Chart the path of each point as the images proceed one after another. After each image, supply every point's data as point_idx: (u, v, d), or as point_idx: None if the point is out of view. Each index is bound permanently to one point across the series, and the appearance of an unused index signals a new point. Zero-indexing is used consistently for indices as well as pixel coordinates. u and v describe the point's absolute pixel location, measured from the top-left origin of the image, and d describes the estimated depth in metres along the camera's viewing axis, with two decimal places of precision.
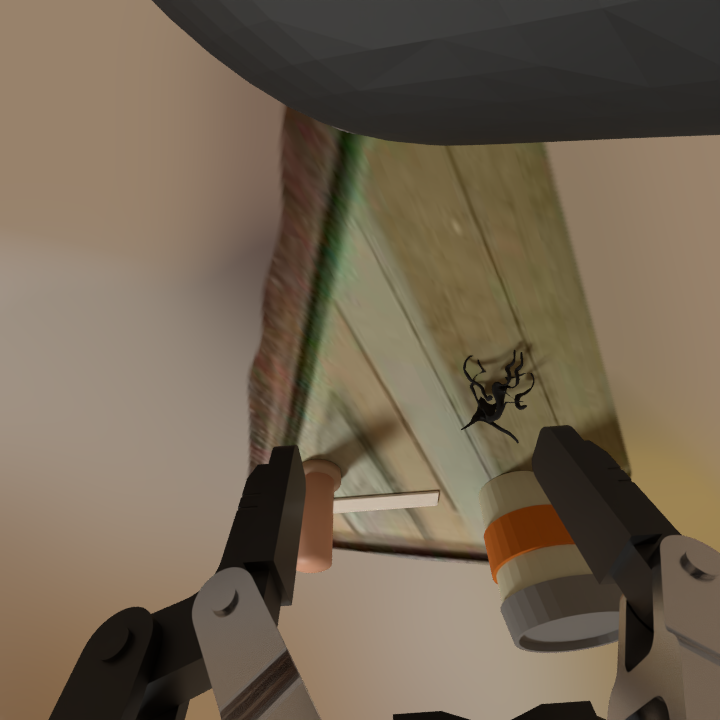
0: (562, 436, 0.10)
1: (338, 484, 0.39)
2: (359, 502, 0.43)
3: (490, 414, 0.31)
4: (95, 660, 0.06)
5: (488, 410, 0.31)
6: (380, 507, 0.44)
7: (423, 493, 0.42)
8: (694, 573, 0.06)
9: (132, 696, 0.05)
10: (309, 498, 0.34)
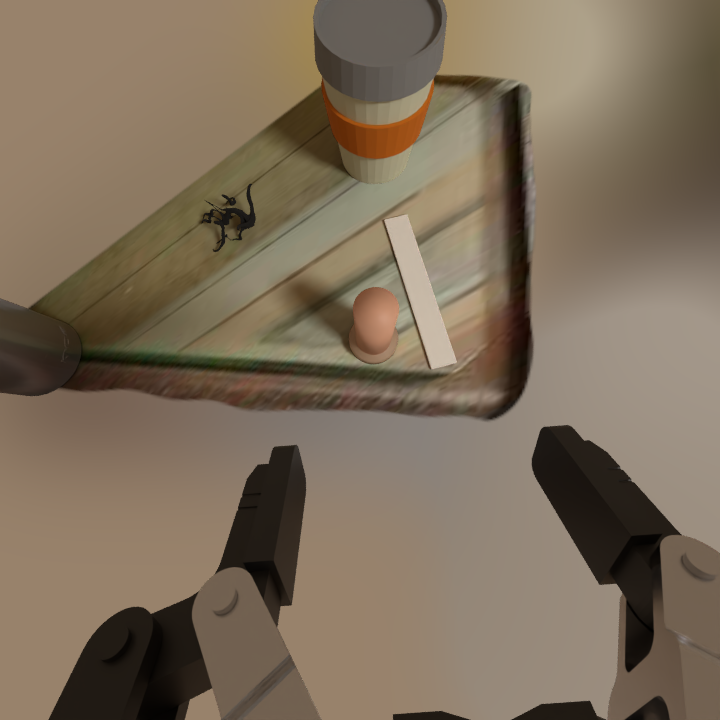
0: (562, 436, 0.10)
1: None
2: (414, 291, 0.39)
3: None
4: (95, 660, 0.06)
5: None
6: (421, 268, 0.39)
7: (388, 233, 0.41)
8: (694, 573, 0.06)
9: (132, 696, 0.05)
10: (356, 336, 0.33)
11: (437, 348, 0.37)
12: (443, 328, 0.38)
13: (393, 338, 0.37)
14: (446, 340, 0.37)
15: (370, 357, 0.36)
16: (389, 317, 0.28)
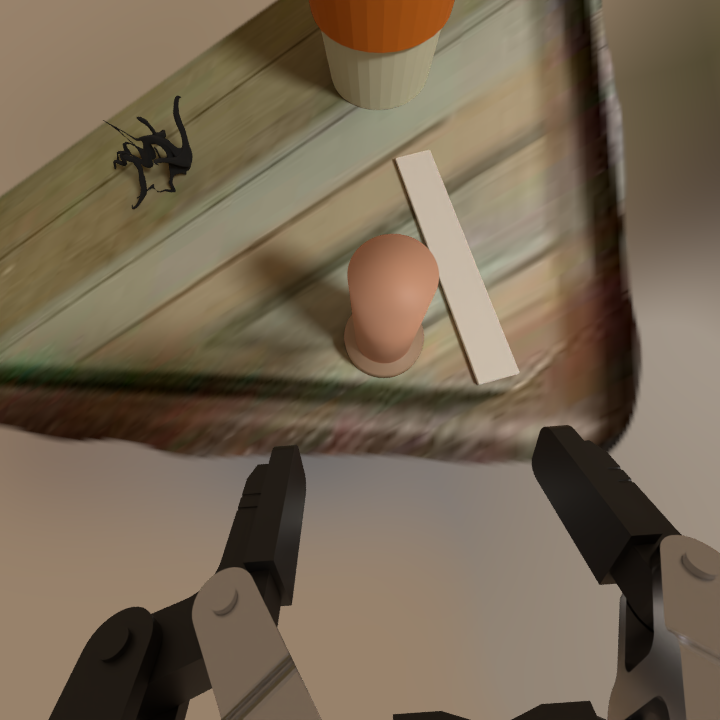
0: (562, 436, 0.10)
1: None
2: (445, 262, 0.25)
3: None
4: (95, 660, 0.06)
5: None
6: (454, 227, 0.26)
7: (402, 177, 0.27)
8: (694, 573, 0.06)
9: (132, 696, 0.05)
10: (356, 333, 0.19)
11: (487, 350, 0.23)
12: (494, 319, 0.24)
13: (416, 336, 0.23)
14: (500, 337, 0.23)
15: (379, 367, 0.22)
16: (420, 291, 0.14)
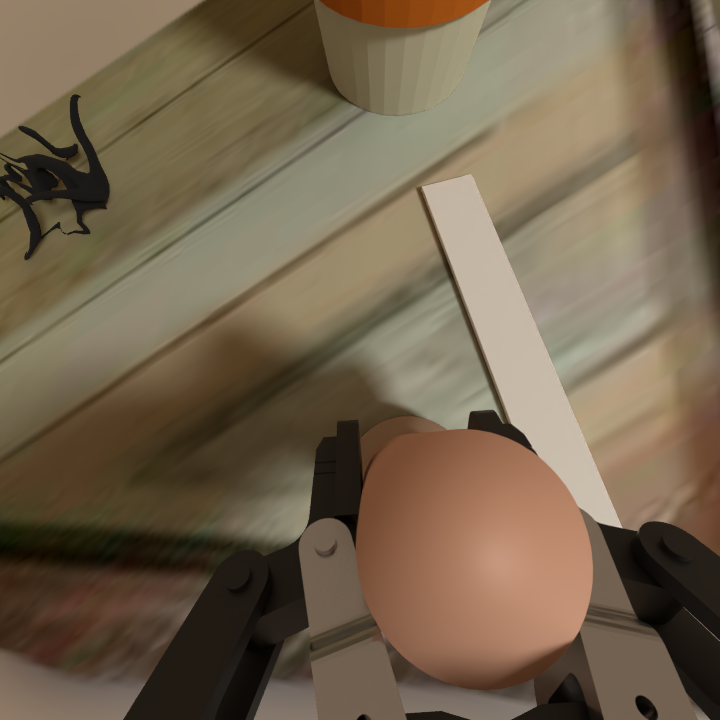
0: (483, 419, 0.10)
1: (410, 422, 0.15)
2: (501, 350, 0.16)
3: None
4: (222, 585, 0.07)
5: None
6: (512, 294, 0.17)
7: (432, 215, 0.18)
8: None
9: (244, 632, 0.06)
10: None
11: None
12: (582, 446, 0.15)
13: None
14: (592, 478, 0.15)
15: None
16: (547, 604, 0.05)
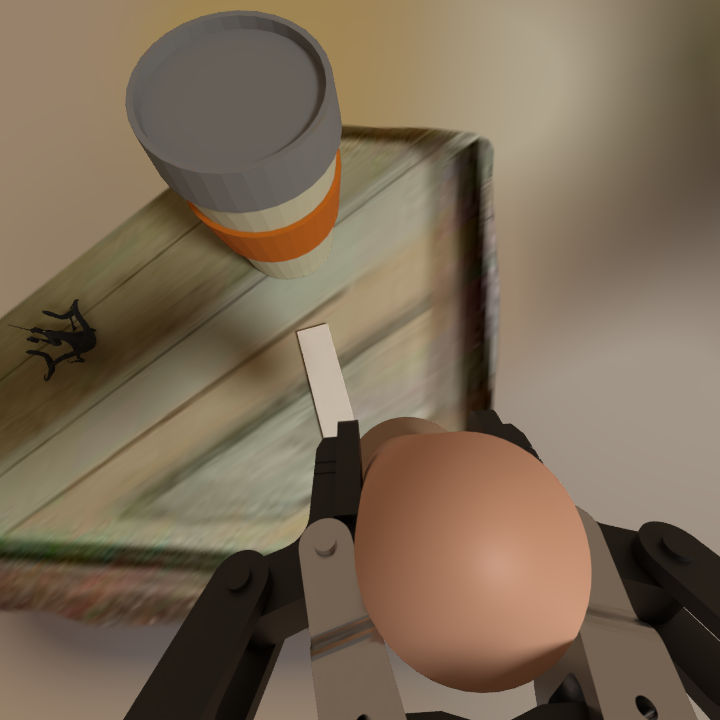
0: (484, 419, 0.10)
1: (409, 422, 0.15)
2: None
3: None
4: (222, 585, 0.07)
5: None
6: (343, 403, 0.29)
7: (302, 351, 0.30)
8: None
9: (244, 632, 0.06)
10: None
11: None
12: None
13: None
14: None
15: None
16: (546, 607, 0.05)
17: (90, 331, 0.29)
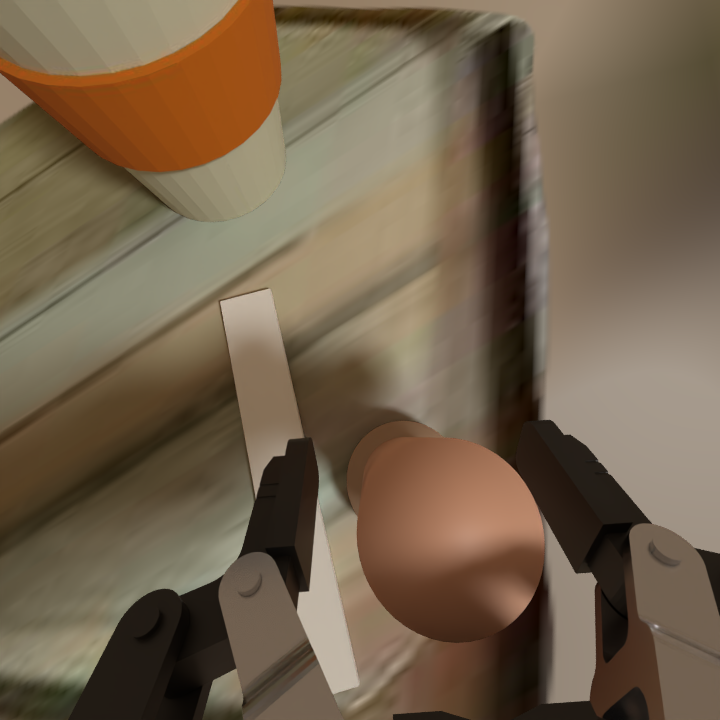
0: (543, 430, 0.10)
1: (405, 426, 0.16)
2: None
3: None
4: (128, 637, 0.06)
5: None
6: (289, 419, 0.17)
7: (227, 332, 0.19)
8: (659, 559, 0.06)
9: (160, 675, 0.06)
10: None
11: (312, 641, 0.15)
12: (331, 582, 0.15)
13: None
14: (335, 617, 0.15)
15: None
16: (508, 577, 0.07)
17: None
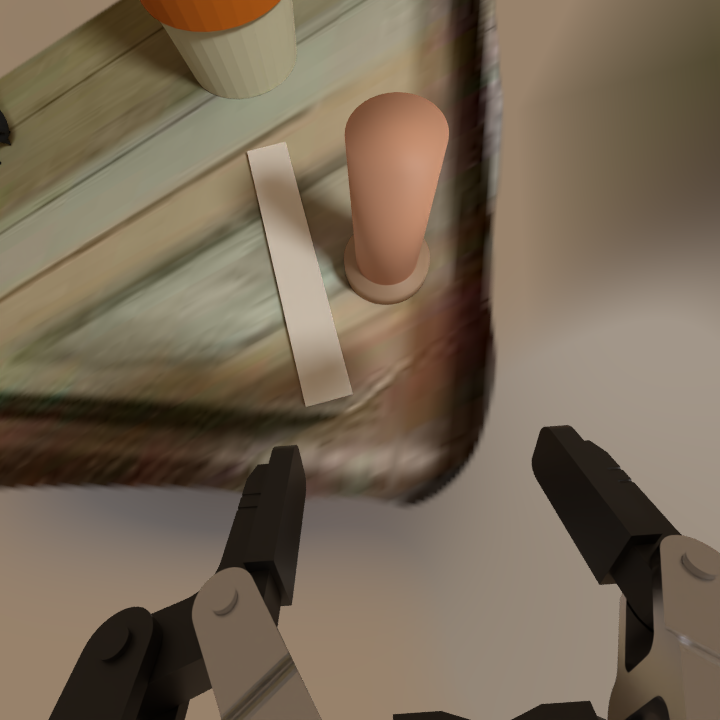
0: (562, 436, 0.10)
1: None
2: (286, 267, 0.22)
3: None
4: (95, 660, 0.06)
5: None
6: (301, 228, 0.23)
7: None
8: (694, 573, 0.06)
9: (132, 696, 0.05)
10: (356, 239, 0.18)
11: (319, 367, 0.20)
12: (332, 331, 0.21)
13: (421, 257, 0.21)
14: (335, 352, 0.21)
15: (382, 289, 0.20)
16: (427, 148, 0.12)
17: None
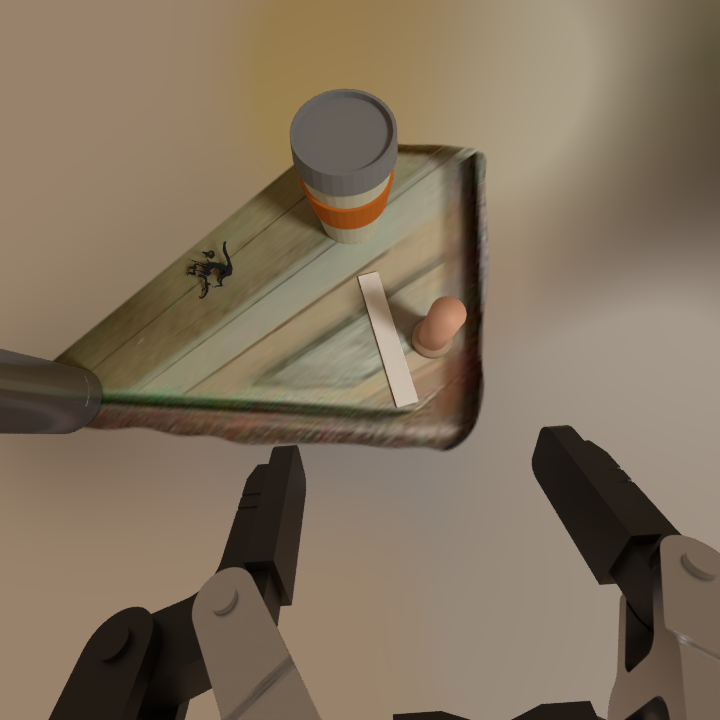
0: (562, 436, 0.10)
1: None
2: (383, 339, 0.46)
3: None
4: (95, 660, 0.06)
5: None
6: (389, 319, 0.46)
7: (361, 288, 0.47)
8: (694, 573, 0.06)
9: (132, 697, 0.05)
10: (423, 335, 0.41)
11: (402, 389, 0.44)
12: (407, 371, 0.44)
13: None
14: (409, 382, 0.44)
15: (431, 352, 0.44)
16: (459, 319, 0.36)
17: (230, 263, 0.47)
